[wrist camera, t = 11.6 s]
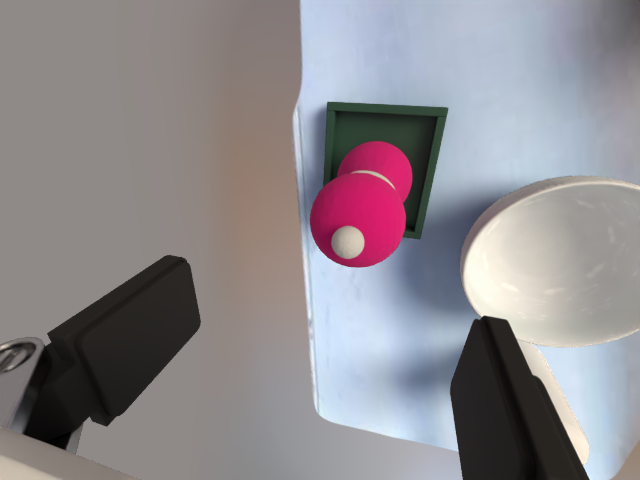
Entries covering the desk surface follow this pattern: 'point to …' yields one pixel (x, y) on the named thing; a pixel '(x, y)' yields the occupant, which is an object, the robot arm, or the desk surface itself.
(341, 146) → the tray
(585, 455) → the pill bottle
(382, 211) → the pepper mill
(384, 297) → the desk surface
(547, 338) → the cereal bowl
